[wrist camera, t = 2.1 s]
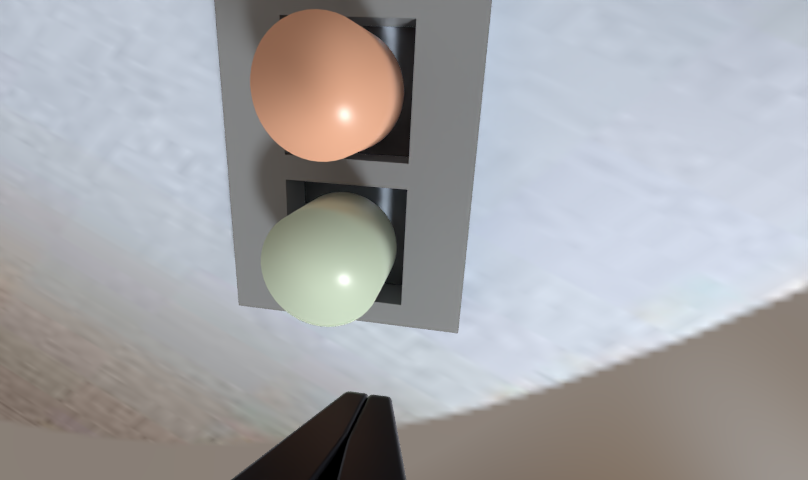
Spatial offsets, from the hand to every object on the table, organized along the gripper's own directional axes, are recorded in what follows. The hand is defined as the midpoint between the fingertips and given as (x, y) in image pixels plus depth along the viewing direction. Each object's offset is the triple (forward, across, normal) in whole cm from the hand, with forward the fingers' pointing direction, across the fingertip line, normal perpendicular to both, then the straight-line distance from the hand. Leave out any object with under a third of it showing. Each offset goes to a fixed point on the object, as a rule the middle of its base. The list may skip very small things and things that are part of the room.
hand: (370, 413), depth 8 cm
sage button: (+10, +3, 0) cm, 10 cm away
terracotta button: (+10, +3, -6) cm, 12 cm away
